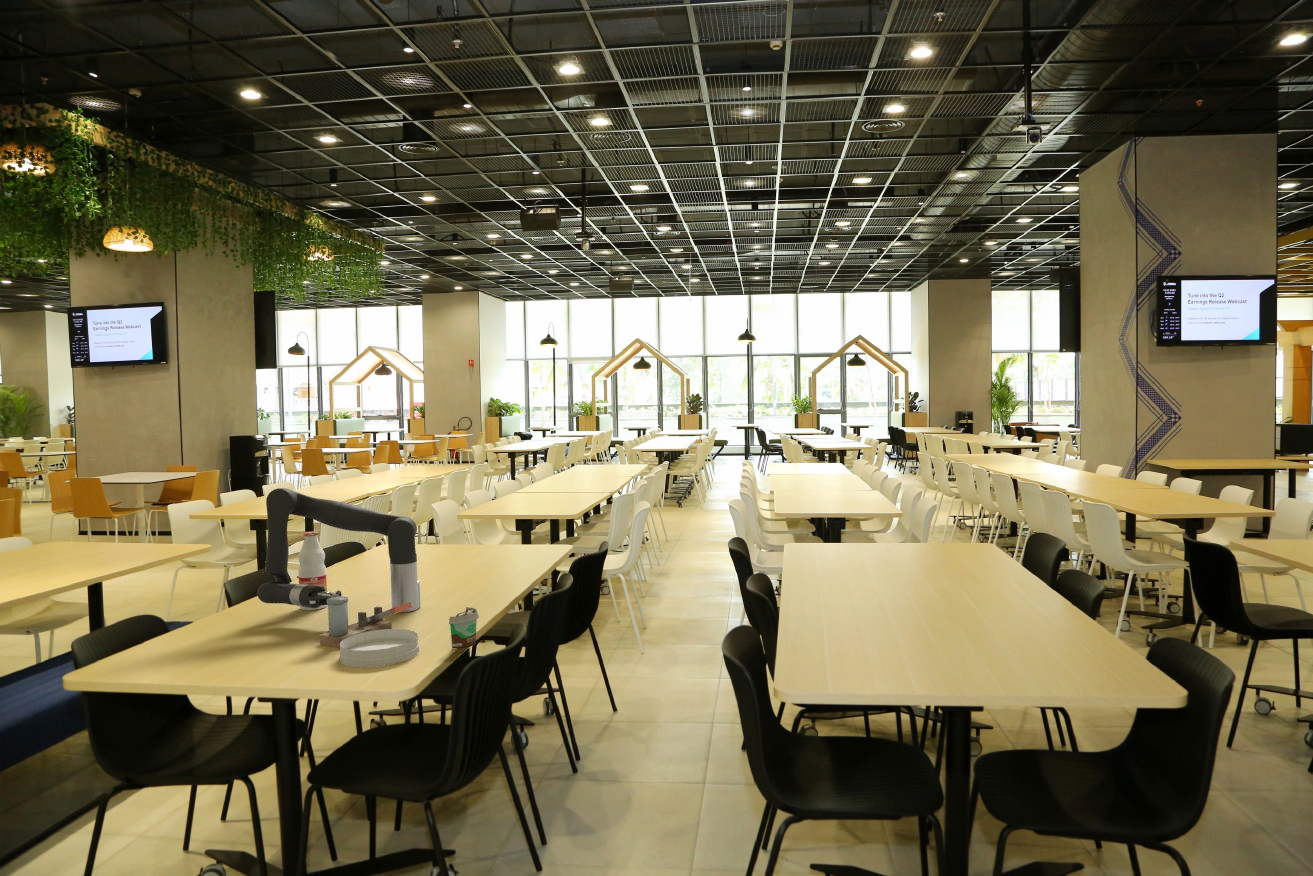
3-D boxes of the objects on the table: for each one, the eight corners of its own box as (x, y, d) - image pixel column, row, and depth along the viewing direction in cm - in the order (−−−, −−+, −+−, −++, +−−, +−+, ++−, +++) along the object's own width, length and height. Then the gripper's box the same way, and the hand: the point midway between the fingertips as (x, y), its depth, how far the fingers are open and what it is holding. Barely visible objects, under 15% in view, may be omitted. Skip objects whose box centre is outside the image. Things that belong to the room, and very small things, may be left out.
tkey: (375, 614, 262) (410, 601, 255) (377, 620, 262) (412, 607, 255) (359, 620, 255) (394, 606, 249) (361, 626, 255) (396, 613, 248)
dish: (373, 673, 219) (373, 655, 218) (323, 661, 230) (322, 644, 230) (435, 650, 237) (434, 634, 237) (385, 641, 249) (384, 625, 249)
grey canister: (339, 630, 251) (338, 595, 250) (353, 632, 248) (352, 597, 248) (323, 635, 245) (322, 600, 245) (338, 637, 242) (336, 601, 242)
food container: (469, 651, 235) (468, 617, 235) (449, 650, 237) (448, 617, 236) (486, 639, 247) (485, 607, 247) (467, 638, 249) (466, 606, 248)
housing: (369, 627, 264) (368, 605, 264) (391, 630, 260) (390, 608, 259) (319, 644, 246) (318, 620, 246) (343, 648, 242) (342, 624, 241)
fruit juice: (327, 603, 300) (324, 529, 299) (327, 609, 291) (324, 533, 290) (300, 606, 296) (297, 531, 295) (299, 612, 288) (296, 535, 286)
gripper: (290, 589, 263) (327, 593, 255) (322, 581, 275) (359, 584, 267) (291, 611, 263) (328, 616, 256) (323, 602, 275) (360, 607, 267)
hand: (344, 600), depth 261 cm, fingers closed
